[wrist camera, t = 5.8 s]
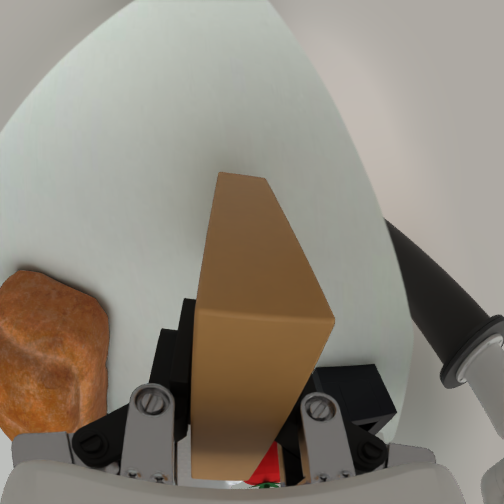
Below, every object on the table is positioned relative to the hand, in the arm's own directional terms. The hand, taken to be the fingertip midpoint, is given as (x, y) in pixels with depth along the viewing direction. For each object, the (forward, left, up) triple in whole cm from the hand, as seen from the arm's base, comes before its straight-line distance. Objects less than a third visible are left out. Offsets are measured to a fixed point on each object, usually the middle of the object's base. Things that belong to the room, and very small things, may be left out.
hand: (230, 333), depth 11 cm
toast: (0, 0, -6) cm, 6 cm away
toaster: (-18, +25, -13) cm, 33 cm away
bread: (+19, +21, -13) cm, 31 cm away
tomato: (-11, +41, -13) cm, 44 cm away
